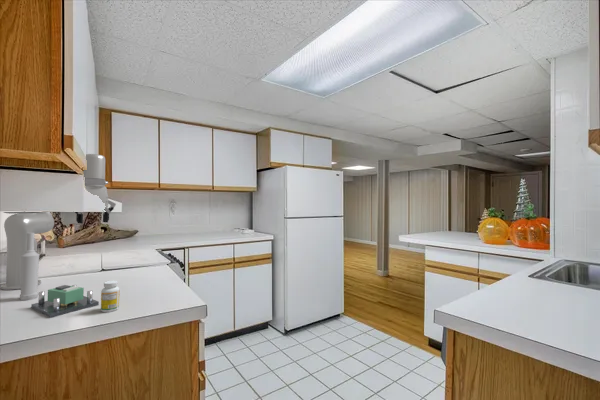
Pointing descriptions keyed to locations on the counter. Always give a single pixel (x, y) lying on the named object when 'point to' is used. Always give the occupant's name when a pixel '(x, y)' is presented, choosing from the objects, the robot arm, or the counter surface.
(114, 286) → the supplement bottle
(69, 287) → the green rectangular module
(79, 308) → the chassis
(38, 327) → the counter surface
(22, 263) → the bottle
